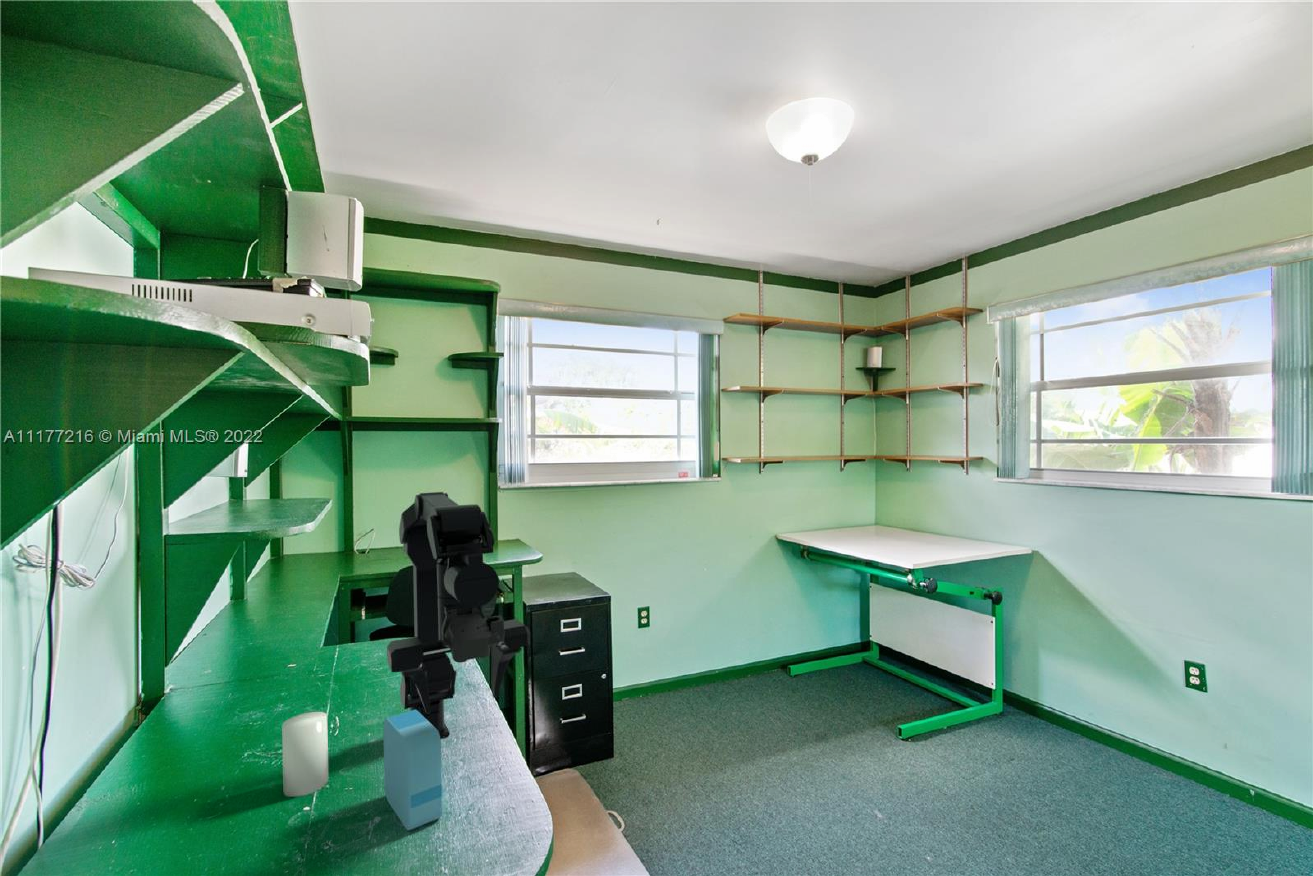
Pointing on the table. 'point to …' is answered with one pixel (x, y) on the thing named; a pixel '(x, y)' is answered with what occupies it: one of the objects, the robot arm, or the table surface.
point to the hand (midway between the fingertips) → (462, 705)
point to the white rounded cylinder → (305, 754)
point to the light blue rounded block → (413, 768)
